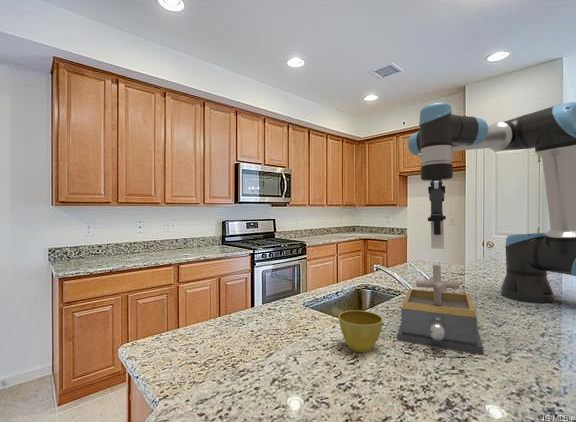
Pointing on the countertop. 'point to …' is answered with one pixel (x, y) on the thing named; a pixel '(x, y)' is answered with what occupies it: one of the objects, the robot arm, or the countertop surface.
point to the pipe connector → (437, 284)
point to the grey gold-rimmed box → (440, 321)
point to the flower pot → (360, 329)
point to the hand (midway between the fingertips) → (438, 245)
